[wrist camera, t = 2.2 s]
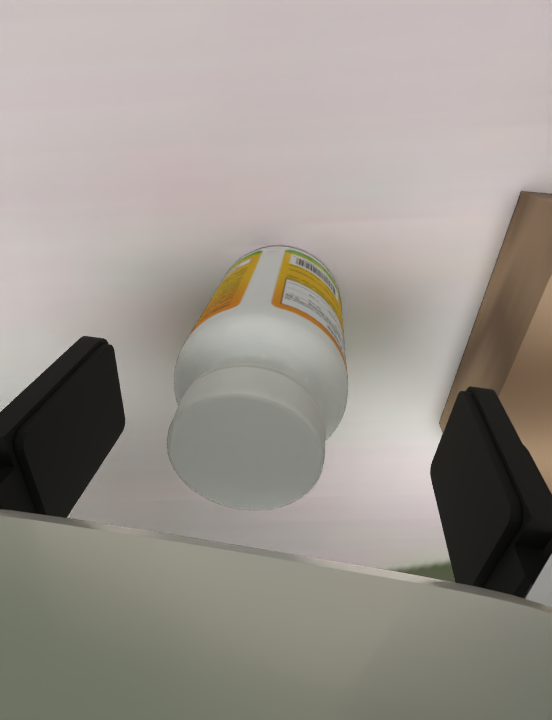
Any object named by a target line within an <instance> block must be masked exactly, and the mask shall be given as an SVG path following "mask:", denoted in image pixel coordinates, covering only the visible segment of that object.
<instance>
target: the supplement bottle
mask: <svg viewBox="0 0 552 720" xmlns="http://www.w3.org/2000/svg"><path fill="white" fill-rule="evenodd" d="M174 390H175V395H176V400H177V403H178V406H179V407H178V409H177V411H176V414H175V416H174V418H173V420H172V422H171V425H170V428H169V431H168V437H167V450H168V455H169V459H170V461H171V463H172V466H173V468H174V470H175V471H176V473H177V474H178V475H179V477H180V478H181V479H182V480H183V481H184V482H185V483H186V484H187V485H188V486H189V487H190V488H191V489H193V490H194V491H195V492H197V493H198V494H200V495H201V496H203V497H205V498H207V499H209V500H211V501H213V502H216V503H218V504H221V505H224V506H227V507H231V508H236V509H242V510H268V509H274V508H278V507H282V506H285V505H288V504H290V503H292V502H294V501H296V500H298V499H300V498H301V497H303V496H304V495H305V494H306V493H308V492H309V491H310V490H311V489H312V487H313V486H314V485H315V484H316V482H317V481H318V479H319V477H320V474H321V472H322V468H323V464H324V454H325V441H326V440H327V439H328V438H329V437H330V436H331V434H332V433H333V432H334V431H335V429H336V428H337V426H338V424H339V423H340V421H341V419H342V416H343V414H344V411H345V407H346V403H347V395H348V377H347V367H346V356H345V344H344V332H343V320H342V308H341V299H340V294H339V290H338V287H337V285H336V283H335V281H334V279H333V277H332V275H331V274H330V272H329V271H328V270H327V269H326V267H325V266H324V265H323V264H322V263H321V262H320V261H318V260H317V259H316V258H314V257H313V256H311V255H309V254H308V253H306V252H303V251H301V250H298V249H295V248H290V247H283V246H272V247H266V248H261V249H258V250H256V251H253V252H251V253H249V254H247V255H245V256H244V257H242V258H241V259H239V260H238V261H237V262H236V263H235V264H234V265H233V266H232V267H231V268H230V270H229V271H228V272H227V274H226V275H225V277H224V278H223V280H222V282H221V283H220V285H219V287H218V289H217V290H216V292H215V294H214V295H213V297H212V299H211V300H210V302H209V304H208V305H207V307H206V309H205V310H204V312H203V314H202V315H201V317H200V319H199V320H198V322H197V324H196V325H195V327H194V329H193V330H192V332H191V334H190V335H189V337H188V338H187V340H186V342H185V344H184V346H183V348H182V350H181V352H180V354H179V356H178V359H177V363H176V367H175V373H174Z"/></svg>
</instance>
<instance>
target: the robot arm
mask: <svg viewBox="0 0 552 720" xmlns="http://www.w3.org/2000/svg"><path fill="white" fill-rule="evenodd" d="M124 426H125V415H124V409H123V403H122V397H121V390H120V384H119V378H118V372H117V365H116V359H115V353H114V348H113V346H112V345H109V344H108V342H107V340H106V339H103V338H96V337H88V336H83V337H81V338H80V339H79V340H78V341H77V342H76V343H75V344H73V345H72V346H71V347H70V348H69V349H68V350H67V351H66V352H65V353H64V354H63V355H62V356H60V357H59V358H58V359H57V360H56V361H55V362H54V363H53V364H52V365H51V366H50V367H49V368H47V369H46V370H45V371H44V372H43V373H42V374H41V375H40V376H39V377H38V378H37V379H36V380H35V381H33V382H32V383H31V384H30V385H29V386H28V387H27V388H26V389H25V390H24V391H23V392H22V393H20V394H19V395H18V396H17V397H16V398H15V399H14V400H13V401H12V402H11V403H10V404H9V405H7V406H6V407H5V408H4V409H3V410H2V411H1V412H0V720H552V494H551V492H550V490H549V488H548V486H547V484H546V483H545V481H544V479H543V477H542V475H541V473H540V471H539V469H538V467H537V466H536V464H535V462H534V460H533V458H532V456H531V454H530V452H529V451H528V449H527V448H526V447H525V446H524V445H523V444H522V442H521V440H520V438H519V436H518V434H517V432H516V430H515V428H514V426H513V424H512V423H511V421H510V419H509V417H508V415H507V413H506V411H505V409H504V407H503V405H502V403H501V402H500V400H499V398H498V396H497V394H496V392H495V391H494V390H493V389H487V388H479V387H472V386H470V387H468V388H467V389H466V391H460V392H459V393H458V395H457V398H456V401H455V403H454V406H453V408H452V411H451V414H450V416H449V419H448V422H447V424H446V427H445V429H444V432H443V435H442V437H441V440H440V443H439V445H438V448H437V451H436V453H435V456H434V458H433V461H432V464H431V470H430V475H431V480H432V485H433V489H434V493H435V497H436V502H437V506H438V510H439V514H440V519H441V523H442V527H443V531H444V535H445V540H446V544H447V548H448V552H449V557H450V561H451V565H452V569H453V574H454V577H455V582H456V583H454V582H449V581H444V580H438V579H433V578H427V577H422V576H417V575H411V574H406V573H400V572H394V571H388V570H383V569H377V568H371V567H365V566H359V565H353V564H347V563H341V562H335V561H329V560H323V559H317V558H312V557H306V556H300V555H294V554H288V553H282V552H276V551H269V550H263V549H257V548H251V547H245V546H239V545H233V544H227V543H221V542H214V541H208V540H202V539H196V538H190V537H184V536H178V535H171V534H165V533H159V532H152V531H146V530H140V529H133V528H127V527H121V526H114V525H108V524H102V523H95V522H89V521H83V520H76V519H70V518H67V516H68V515H69V513H70V512H71V510H72V508H73V507H74V505H75V504H76V502H77V501H78V499H79V498H80V496H81V495H82V493H83V492H84V490H85V489H86V487H87V485H88V484H89V482H90V481H91V479H92V478H93V476H94V475H95V473H96V472H97V470H98V469H99V467H100V466H101V464H102V462H103V461H104V459H105V458H106V456H107V455H108V453H109V452H110V450H111V449H112V447H113V446H114V444H115V443H116V441H117V439H118V438H119V436H120V435H121V433H122V432H123V429H124Z"/></svg>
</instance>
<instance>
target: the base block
mask: <svg viewBox="0 0 552 720" xmlns="http://www.w3.org/2000/svg"><path fill="white" fill-rule="evenodd" d="M470 386H472V387H479V388H487V389H493V390H494V391H495V392H496V394H497V396H498V398H499V400H500V402H501V403H502V405H503V407H504V409H505V411H506V413H507V415H508V417H509V419H510V421H511V423H512V424H513V426H514V428H515V430H516V432H517V434H518V436H519V438H520V440H521V442H522V444H523V445H524V446H525V447H526V448H527V449H528V451H529V452H530V454H531V456H532V458H533V460H534V462H535V464H536V466H537V467H538V469H539V471H540V473H541V475H542V477H543V479H544V481H545V483H546V484H547V486H548V488H549V490H550V492H551V494H552V194H546V193H535V192H524V191H521V194H520V197H519V200H518V203H517V205H516V208H515V211H514V214H513V217H512V219H511V222H510V225H509V228H508V231H507V234H506V236H505V239H504V242H503V245H502V248H501V250H500V253H499V256H498V259H497V262H496V265H495V267H494V270H493V273H492V276H491V279H490V282H489V284H488V287H487V290H486V293H485V296H484V298H483V301H482V304H481V307H480V310H479V313H478V315H477V318H476V321H475V324H474V327H473V329H472V332H471V335H470V338H469V341H468V344H467V346H466V349H465V352H464V355H463V358H462V361H461V363H460V366H459V369H458V372H457V375H456V377H455V380H454V383H453V386H452V389H451V392H450V394H449V397H448V400H447V403H446V406H445V408H444V411H443V414H442V417H441V420H440V423H439V424H440V427H441V429H442V432H444V429H445V427H446V424H447V422H448V419H449V416H450V414H451V411H452V408H453V406H454V403H455V401H456V398H457V395H458V393H459V392H460V391H466V389H467V388H468V387H470Z"/></svg>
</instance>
